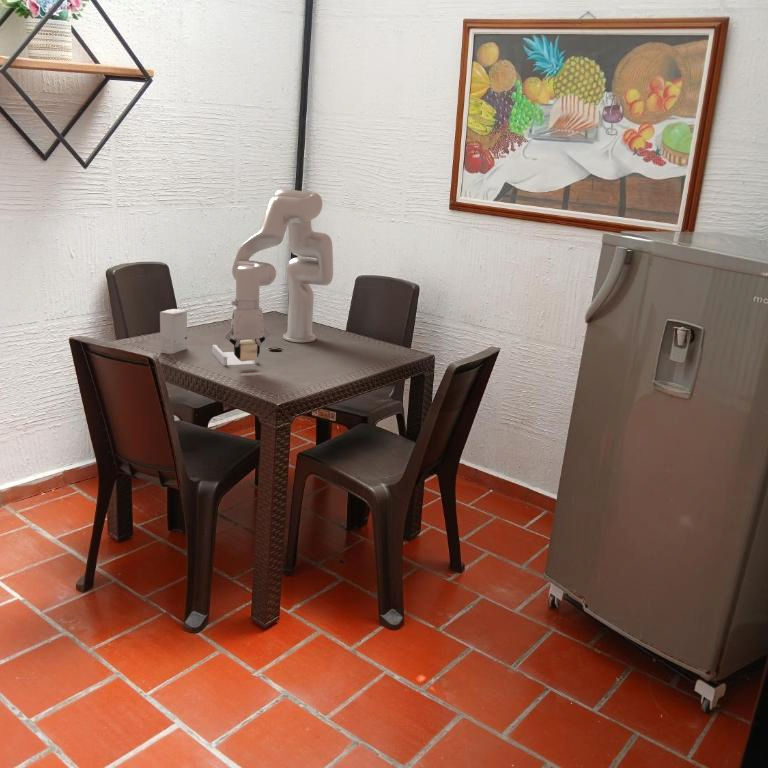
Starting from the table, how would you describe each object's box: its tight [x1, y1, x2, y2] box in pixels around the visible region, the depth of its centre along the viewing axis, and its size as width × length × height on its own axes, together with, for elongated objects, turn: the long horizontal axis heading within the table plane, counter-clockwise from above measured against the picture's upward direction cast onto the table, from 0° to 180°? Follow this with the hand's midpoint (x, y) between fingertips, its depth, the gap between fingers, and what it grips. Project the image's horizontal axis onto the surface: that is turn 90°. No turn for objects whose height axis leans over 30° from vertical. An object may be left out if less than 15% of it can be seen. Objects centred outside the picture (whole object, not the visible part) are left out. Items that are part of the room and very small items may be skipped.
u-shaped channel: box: [212, 344, 259, 366], centre depth 280 cm, size 15×12×4 cm
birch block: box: [239, 339, 257, 361], centre depth 268 cm, size 6×6×6 cm
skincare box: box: [159, 308, 188, 356], centre depth 283 cm, size 8×6×15 cm
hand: (246, 356), depth 268 cm, fingers closed on birch block, 5 cm apart
